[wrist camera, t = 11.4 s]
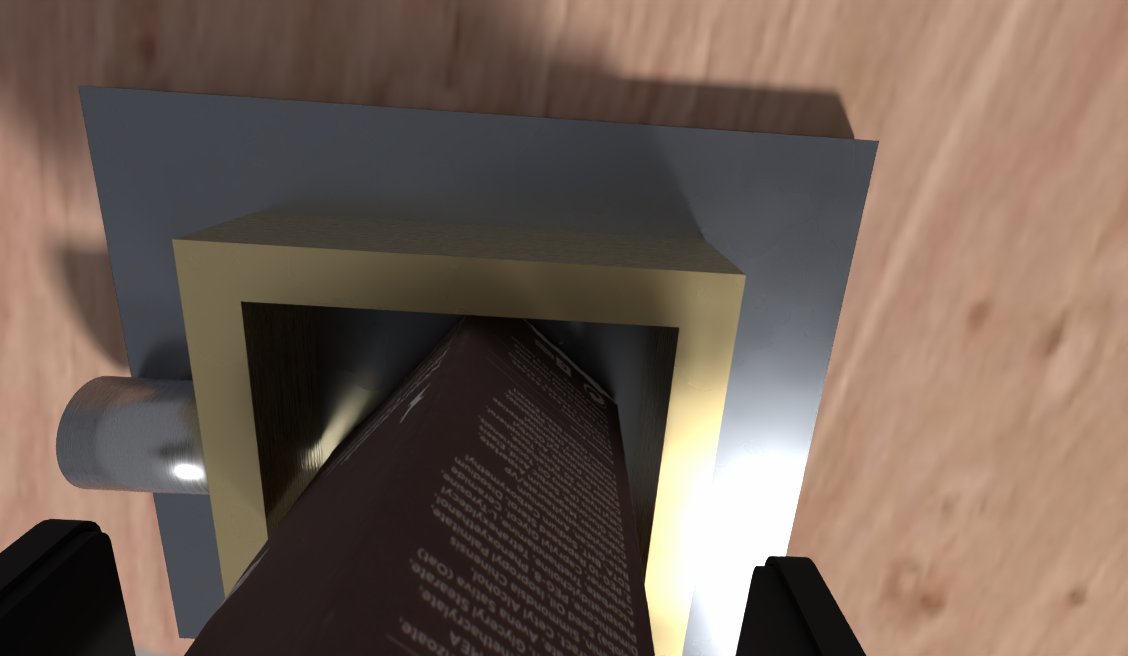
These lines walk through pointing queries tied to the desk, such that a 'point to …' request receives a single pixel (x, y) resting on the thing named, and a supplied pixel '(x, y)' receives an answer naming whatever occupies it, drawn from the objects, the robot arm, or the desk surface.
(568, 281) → the square socket base
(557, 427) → the box
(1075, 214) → the desk surface
